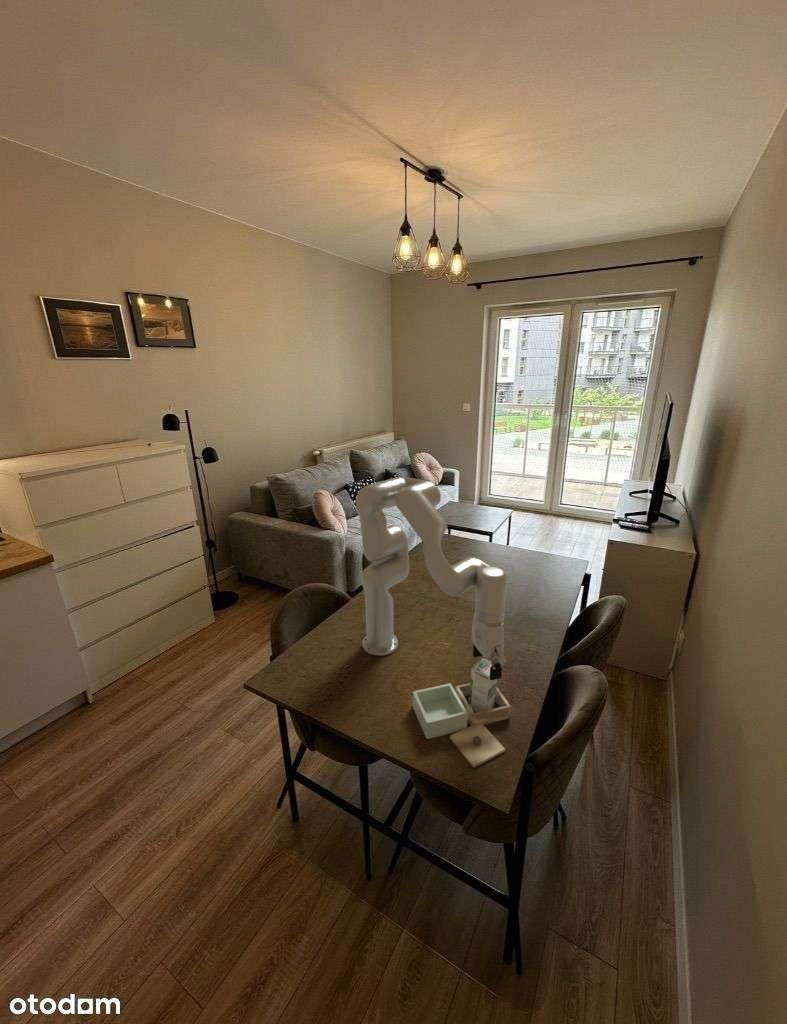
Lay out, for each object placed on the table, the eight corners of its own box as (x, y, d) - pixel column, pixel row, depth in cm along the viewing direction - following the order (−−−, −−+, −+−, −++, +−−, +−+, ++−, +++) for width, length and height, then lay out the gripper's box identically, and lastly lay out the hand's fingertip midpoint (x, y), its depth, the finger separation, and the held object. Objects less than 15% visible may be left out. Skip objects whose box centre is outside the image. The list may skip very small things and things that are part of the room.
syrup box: (477, 696, 124) (480, 656, 119) (495, 706, 120) (499, 665, 116) (467, 708, 120) (470, 667, 115) (486, 718, 116) (489, 676, 111)
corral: (454, 697, 124) (455, 686, 123) (489, 688, 127) (490, 678, 126) (472, 727, 113) (472, 716, 112) (510, 718, 116) (511, 706, 115)
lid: (449, 737, 110) (450, 732, 110) (479, 723, 115) (480, 718, 114) (473, 768, 102) (474, 762, 101) (504, 751, 106) (505, 746, 106)
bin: (412, 706, 120) (412, 691, 119) (449, 698, 123) (450, 683, 122) (426, 739, 110) (426, 723, 108) (466, 729, 113) (467, 713, 111)
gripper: (462, 599, 116) (460, 650, 122) (492, 634, 101) (489, 691, 106) (486, 594, 118) (484, 645, 124) (520, 628, 103) (515, 685, 108)
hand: (486, 666), depth 115 cm, fingers open, 9 cm apart
